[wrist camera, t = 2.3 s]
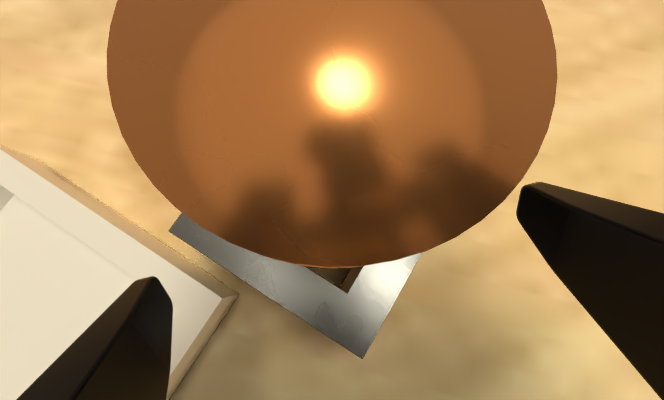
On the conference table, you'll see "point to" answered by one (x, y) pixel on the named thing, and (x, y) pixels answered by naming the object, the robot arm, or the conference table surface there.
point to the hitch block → (311, 287)
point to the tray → (83, 274)
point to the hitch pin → (333, 117)
